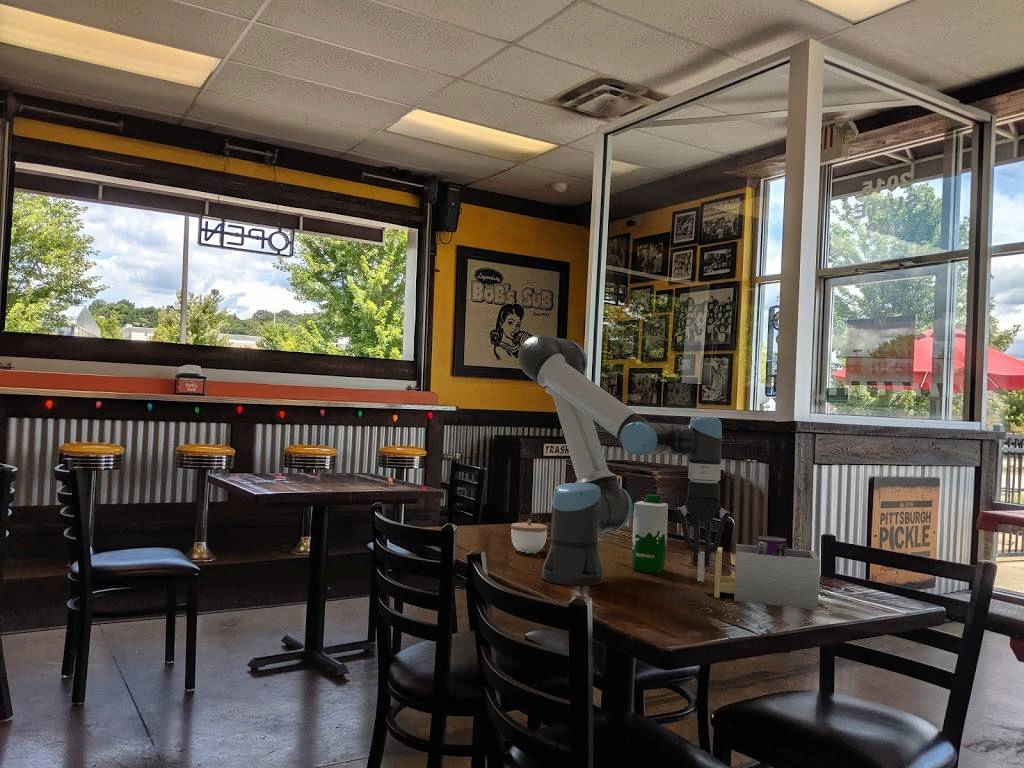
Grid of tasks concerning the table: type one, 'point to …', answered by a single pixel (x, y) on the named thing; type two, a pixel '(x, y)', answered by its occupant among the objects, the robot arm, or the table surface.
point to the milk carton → (649, 534)
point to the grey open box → (777, 578)
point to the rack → (722, 578)
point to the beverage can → (771, 546)
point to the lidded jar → (528, 536)
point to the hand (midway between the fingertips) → (700, 580)
